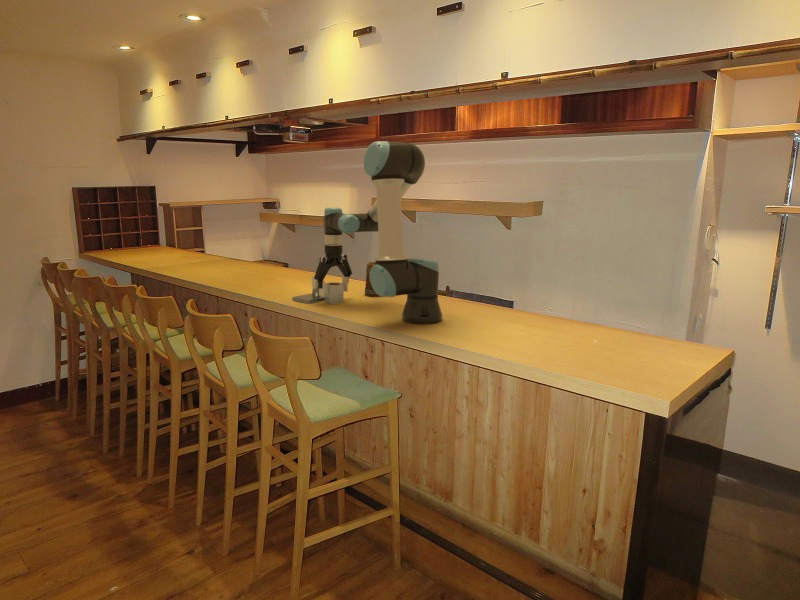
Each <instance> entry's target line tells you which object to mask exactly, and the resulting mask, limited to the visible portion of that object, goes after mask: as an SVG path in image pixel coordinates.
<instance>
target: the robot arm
mask: <svg viewBox="0 0 800 600" xmlns="http://www.w3.org/2000/svg"><path fill="white" fill-rule="evenodd" d="M425 161H426V159H425V156H424V153H423V151H422V150H421V149H420V147H418V146H417V145H415V144H414V143H410V142H400V141H399V142H398V141H389V140H384V141H383V140H382V141H380V140H378V141H374V142H371V144H369V145H368V147H367V149H366V151H365V154H364V157H363V169H364V171H365V173H366V174H367V175H368V176H370V177H371V184H372V185H374V186H375V188H376V189H375V190H376V193H375V194H376V200H375V202H374V203H373V204H372V206H371V207H370V209H369V210H368V211H367V212H366V213H344V212H343V209H342V208H341V207H326V208H324V216H323V219H324V220H323V221H324V223H323V224H324V226H323V227H324V230H323V231H324V244H325V245H324V254H325V256H324V257H323V256H320V257H319V261H318V262H319V263H318V265H317V267H316V270H315V274H314V279H315V280H318V288H319V295H320V296H325V283H326V281H325V278H326V276H327V274H328V272H329V271H330V269H331V268H333V267H337V268H338V269H339V271H340V272H341V274H342V275H343V276H342V277H341V281H342V282H341V283H343V291H344V292H346V293H348V292H349V287H348V286H349V283H350V282H349V278H350V277H351V275H353V272H352V268H351V266H350V264H349V260H348V256H347V254H344V253H343V245H342V244H343V234H354V233H364V232H368V233H369V232H370V233H371V232H375V233H377V232H378V235H377V236H378V251H379V254H378V255H377V257H376V258H375V262H376V265H374V266H373V267H372V268H371V271H370V282H371V285H372V288H373V289H374V291H375V292H376V293H377V294H378V295H379V296H382V297H383V298H387V297H391V298H393V297H396V296H404V295H406V301H405V304H404V308H403V310H402V313H401V315H402V316H401V319H402V320H403V322H407V323H410V324H411V323H413V324H421V325H422V324H423V325H427V324H430V325H431V324H436V323H439V322H441V321H443V313H442V310H441V306H440V302H439V274H440V271H439V269H440V268H439V262H438V261H436V260H433V259H425V258H418V257H408V256H406V255H405V253H404V239H403V238H404V237H403V235H404V234H403V215H402V211H403V210H402V198H403V197H404V195H405V194H406V193H407V191H409V189H410V187H412V186H413V185H415V184H417V183H418V182H419V180H420V179H421V177H422V176H423V173H424V171H425V167H426V166H425V165H426V162H425ZM382 297H381V298H382Z"/></svg>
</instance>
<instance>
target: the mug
mask: <svg viewBox="0 0 800 600" xmlns="http://www.w3.org/2000/svg"><path fill="white" fill-rule="evenodd" d="M374 265H376V261H370V262H368V261H367V263H366V271H365V272H366V276H365V288H364V294H365V296H367V297H369V296H370V297H371V298H382V296H379V295H378V294H377V293H376V292H375V291H374V289H373V288H372V285H371V282H370V271H371V268H372V267H373V266H374Z"/></svg>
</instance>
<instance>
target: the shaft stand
mask: <svg viewBox="0 0 800 600" xmlns="http://www.w3.org/2000/svg"><path fill="white" fill-rule="evenodd" d="M314 276H315V275H314ZM314 276H311V293H306V294H302V295H297V296H292V297H291V299H292V301H294V302H297V303H304V304H307V305H311V304H316V303H320V302H325V296H320V295H319V288H318V280H315V279H314Z"/></svg>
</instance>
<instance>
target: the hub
mask: <svg viewBox="0 0 800 600" xmlns="http://www.w3.org/2000/svg"><path fill="white" fill-rule="evenodd" d="M344 292H345V291H343V283H342V282H336V281H334V282H333V281H332V282H330V281H329V282H325V301H324V303H325V304H328V305H339V304H340V305H341V304H344V300H345V299H344V295H345V294H344Z"/></svg>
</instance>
